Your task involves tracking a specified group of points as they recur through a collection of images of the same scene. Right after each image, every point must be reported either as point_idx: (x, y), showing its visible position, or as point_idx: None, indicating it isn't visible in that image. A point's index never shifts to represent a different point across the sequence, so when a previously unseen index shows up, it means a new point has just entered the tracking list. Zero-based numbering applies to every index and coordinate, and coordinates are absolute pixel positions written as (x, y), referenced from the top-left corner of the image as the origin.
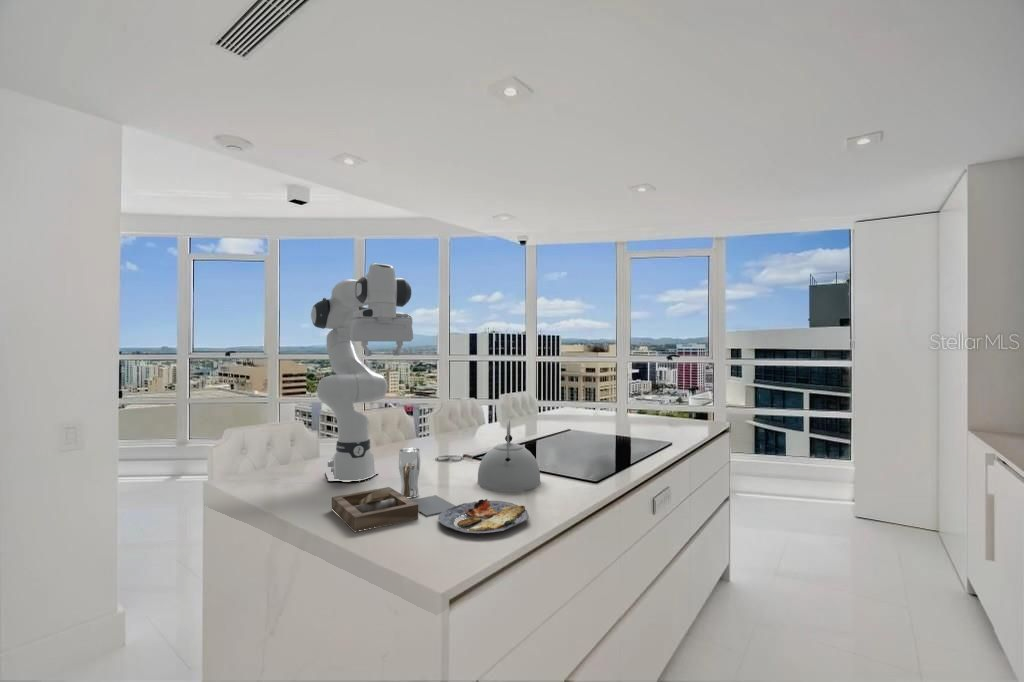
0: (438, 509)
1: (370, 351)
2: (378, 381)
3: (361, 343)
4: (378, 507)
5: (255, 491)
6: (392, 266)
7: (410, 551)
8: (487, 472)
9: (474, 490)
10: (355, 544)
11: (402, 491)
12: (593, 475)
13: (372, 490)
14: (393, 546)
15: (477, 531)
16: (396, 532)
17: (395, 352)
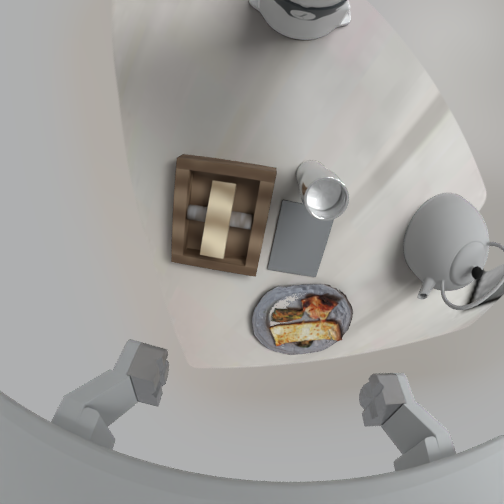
0: (293, 263)
1: (153, 397)
2: None
3: (59, 409)
4: None
5: None
6: None
7: (201, 322)
8: (416, 248)
9: (390, 230)
10: (166, 279)
11: (298, 177)
12: (489, 289)
13: (243, 170)
14: (194, 306)
15: (266, 341)
16: (212, 282)
17: (364, 410)
